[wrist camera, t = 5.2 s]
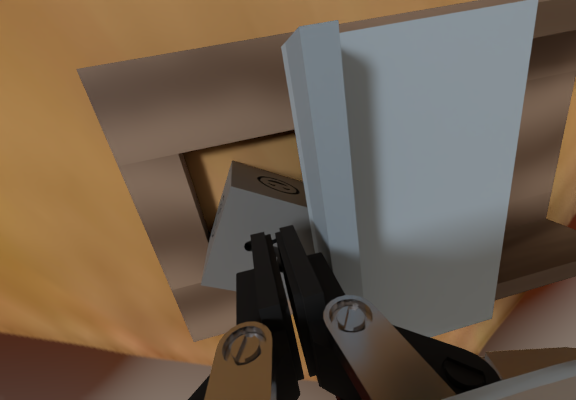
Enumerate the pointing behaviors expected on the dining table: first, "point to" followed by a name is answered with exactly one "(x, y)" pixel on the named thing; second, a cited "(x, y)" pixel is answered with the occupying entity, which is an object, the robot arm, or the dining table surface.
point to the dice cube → (253, 222)
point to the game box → (278, 118)
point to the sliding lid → (412, 156)
